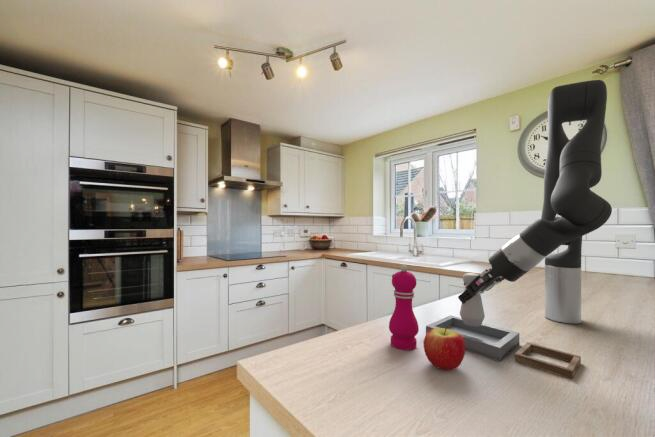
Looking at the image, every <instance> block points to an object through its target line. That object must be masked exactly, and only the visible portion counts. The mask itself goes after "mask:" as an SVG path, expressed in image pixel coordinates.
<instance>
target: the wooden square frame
mask: <svg viewBox="0 0 655 437" xmlns="http://www.w3.org/2000/svg"><path fill="white" fill-rule="evenodd" d="M531 352H534V353H538V354H540V355H541V354H542V355H545V356H548V357H551V358H554V359H555V358H556V359H560V360H563V361H565V362H568V365H567V367H566V366H563V365H560V364H556V363H553V362H548V361H545V360H542V359H539V358H536V357H532V356H529V355H528V354H529V353H531ZM581 358H582V356H581V355H579V354H574V353H569V352H565V351H561V350H558V349H555V348H550V347H547V346H544V345H539V344H535V343H534V342H533V343H532V342H528V341H526V343H525V344H524V345H523V346H522V347H520V348H519V349H518V350H517V351H516V352H515V353H514V361H515V362H518V363H521V364H524V365H527V366H530V367H534V368H537V369H539V370H543V371H545V372H550V373H552V374H555V375H559V376H562V377H565V378H568V379H573V378H574V377H575V375H576V373H577V371H578V369H579V368H580V365H582V364H581V362H582V359H581Z"/></svg>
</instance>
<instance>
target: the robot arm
mask: <svg viewBox="0 0 655 437" xmlns="http://www.w3.org/2000/svg"><path fill="white" fill-rule="evenodd" d="M607 101H608V89H607V85H606V83H605V81H604V80H602V79H592V80H586V81H584V80H583V81H580V82H573V83H567V84H563V85H557V86H555V87H553V88H552V89H551V91H550V92H549V96H548V102H547V149H546V150H547V151H546V159H545V166H544V167H545V168H544V180H543V202H542V211H541V218H539V219H536V220H535V221H533V222H531V223H530V224H529V225H528V226H527V227H526V228H524V229H523V230H522V231H521V232H520V233H519V234H518V235H516V236H514V237H513V238H511V239H510V240H509V241H507V242H506V243H505V244H504V245H503V246H501V247H500V248H499V249H498V250H497V251H495V252H494V253H493V254H492V255H491V256H489V258H488V262H489V264H490V266H491V268H489V269H488V268H485V269H484V271H482V272H481V273H480V274H478V275H479V276H477V277H476V278H475V279H474V280H473V281H472V282H471V283H470V284H469V285H468V286H467V287H466V289H467V290H466V291H463V292H462V293H461V294H459V296H458V298H457V299H458V300H459V301H460V302H461V304H462V303H463V304H464V303H465V302H466V301H467V300H470V299H471V298H472V297H474V296H477V294H478V293H480V294H481V295H482V294H485V292H488V291H490V290H492V289H493V288H495V287H496V286H497V285H499V284H501V283H502V282H503V281H504V280H506V281H508V282H513V283H514V282H516V281H518V280H519V279H520V278H522V277H523V276H524V275H526V274H527V273H529V271H531V270H532V269H534V268H535V267H536V266H538V265H539V264H540V263H541V262H542V261H543V260H544V317H545V318H546V319H548V320H551V321H554V322H557V323H558V322H559V323H562V324H573V325H574V324H576V325H577V324H581V323H582V249H583V248H582V244H583V236H586V235H588V234H589V233H590V234H591V233H593V232H594V231H596V230H598V229H599V228H601V227H602V226H604V225H605V224H606V223H607V222H608V221H609V219H610V217H611V215H612V212H613V209H612V206H611V204H610V203H609V201H607V200H606V199H604V198H603V197H602V196H601V195H599V194H597V193H595V191H592V190H591V188H593V187H595V186H596V185H598V184H599V182H600V181H601V179H602V174H603V173H602V154H601V153H602V151H601V148H602V139H603V134H604V126H605V121H606V111H607ZM578 121H586V122H585V124H583V126H582V127H581V128H580V130H578V132H577V133H575V135H574V136H572V138H570V139H569V137H568V136H567V134H566V132H565V130H564V126H563V124H564V123H570V122H571V123H572V122H578ZM557 215H558V216H557ZM561 246H567V248H566V249H565V250H563V251H561V252H559V253H558V252H557V253H553V252H554V251H555V250H557V249H558V248H559V247H561ZM552 253H553V254H552ZM474 289H475V290H474Z"/></svg>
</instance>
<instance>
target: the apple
mask: <svg viewBox="0 0 655 437" xmlns="http://www.w3.org/2000/svg"><path fill="white" fill-rule="evenodd" d="M450 324H452V323H451V322H450V323H449V324H448V325H447V327H448V326H449V325H450ZM447 327H446V329H445V328H434V329H431V330H429V331H428V332H427V334H426V333H425V336H424V338H423V351H424V355H425V356H426V359H427V360H428V361H429V362H430V364H431V365H433V366H434V367H435V368H437V369H439V370H441V371H452V370H456V369H457V368H459V367H460V366H461V364H462V362H463V360H464V358H465V354H466V350H465V341H464V338H463V336H462V335H461V334H459V333H457V332H455V331H452V330H449V329H447Z"/></svg>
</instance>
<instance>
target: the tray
mask: <svg viewBox="0 0 655 437" xmlns="http://www.w3.org/2000/svg"><path fill="white" fill-rule="evenodd" d="M450 322H451V323H452V324H450V325H449V326H448V327H447V325H448V324H449V323H450ZM446 327H447V329H449V330H452V331H455V332H457V333H459V334H461V335H462V336H463V338H464V341H465V351H466V352H469V353H472V354H477V355H479V356H482V357H485V358H488V359H492V360H495V361H497V362H501V361H503V360H504V359H505V358H506V357H507V356H508V355H510V354H511V352H513V351H514V350H515V349H516V348H517V347H519V345H520V332H518V331H514V330H510V329H505V328H502V327H498V326H495V325H490V324H487V323H483V322H482V324H481V325H480V326H469V325H466V324H464V322H463V320H462V318H461V317H460V316H459V317H458V316H454V315H447V316H446V317H443V318H441V319H438V320H436V321H434V322H432V323H430V324H427V325H426V326H425V335H426V334H427V332H428V331H429V330H431V329H434V328H445V329H446Z"/></svg>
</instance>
